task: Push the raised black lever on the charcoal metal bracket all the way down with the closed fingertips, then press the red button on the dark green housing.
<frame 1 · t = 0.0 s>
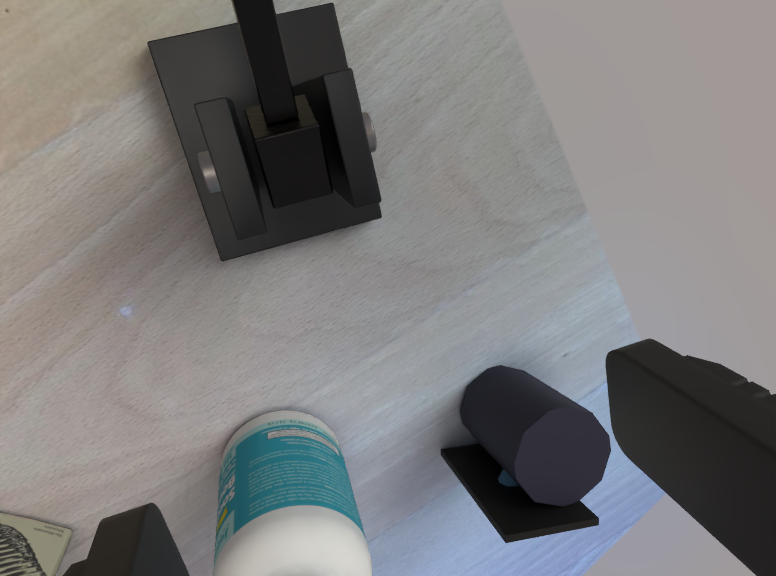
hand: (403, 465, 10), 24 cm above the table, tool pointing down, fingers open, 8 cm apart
speaker: (487, 401, 39), on the table
lever: (255, 13, 17), point 13 cm above the table, hinge at 25.0°
bracket: (273, 136, 30), on the table
box: (17, 543, 34), on the table
pill bottle: (281, 456, 36), on the table
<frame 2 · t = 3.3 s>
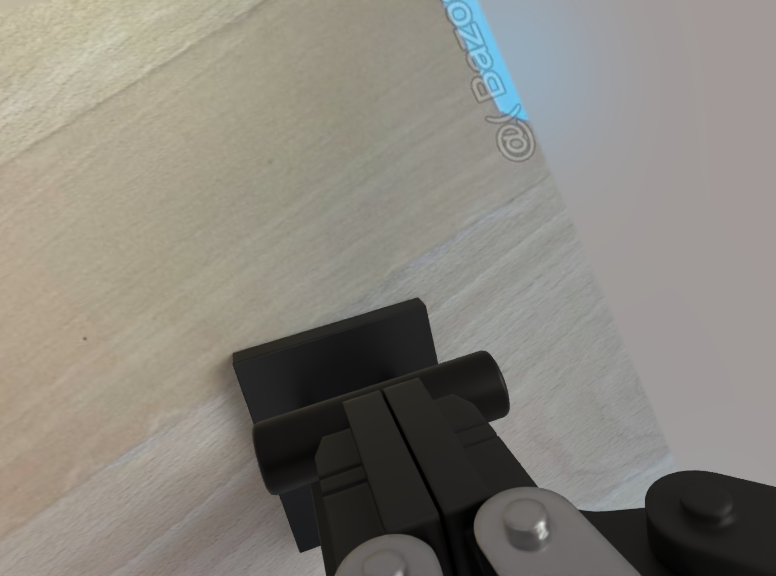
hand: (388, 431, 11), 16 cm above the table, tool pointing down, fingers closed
lever: (405, 534, 15), point 13 cm above the table, hinge at 22.6°, touching gripper
bracket: (355, 422, 28), on the table
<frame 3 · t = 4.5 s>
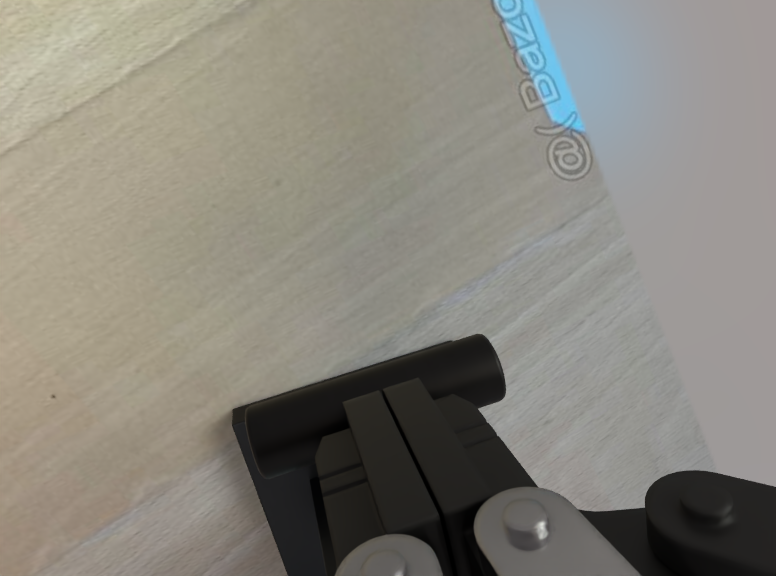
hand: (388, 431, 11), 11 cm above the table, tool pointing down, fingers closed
bracket: (376, 483, 24), on the table
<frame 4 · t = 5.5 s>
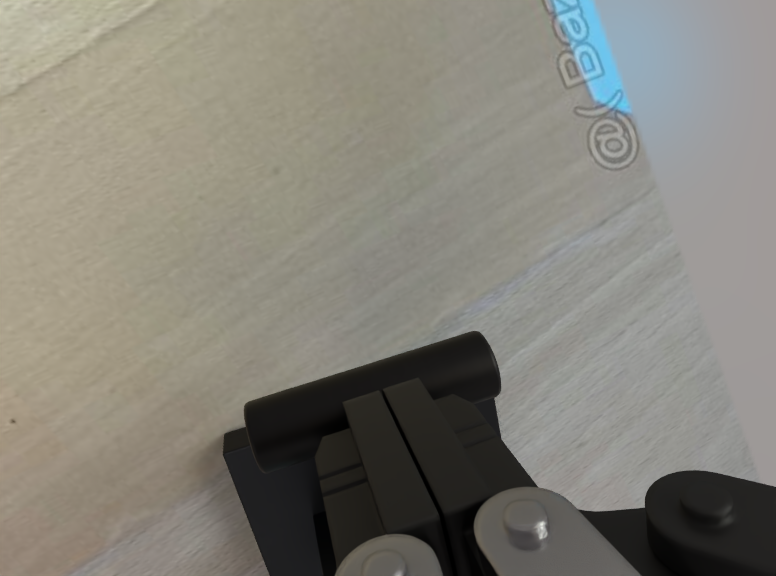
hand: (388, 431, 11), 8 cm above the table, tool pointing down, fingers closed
bracket: (388, 516, 21), on the table
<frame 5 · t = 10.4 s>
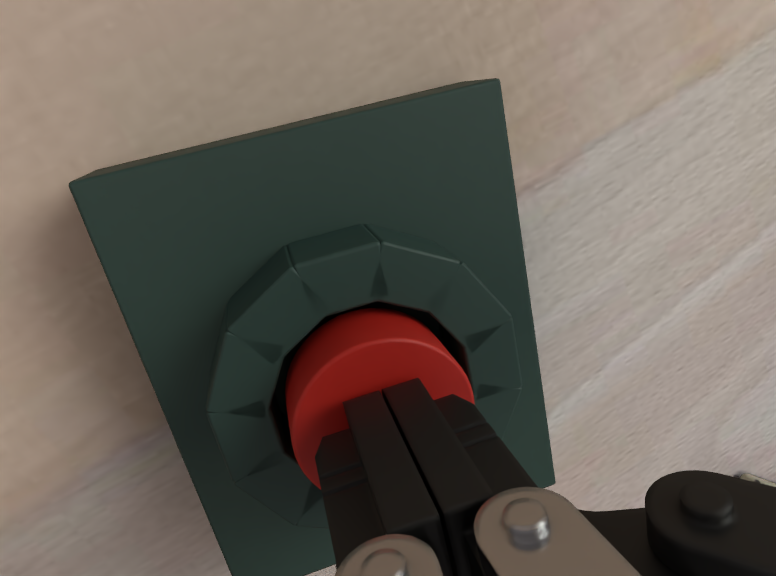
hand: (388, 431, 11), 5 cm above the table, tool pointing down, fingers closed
button box: (343, 328, 15), on the table
button: (377, 404, 12), point 4 cm above the table, slide at -0.2 cm, touching gripper
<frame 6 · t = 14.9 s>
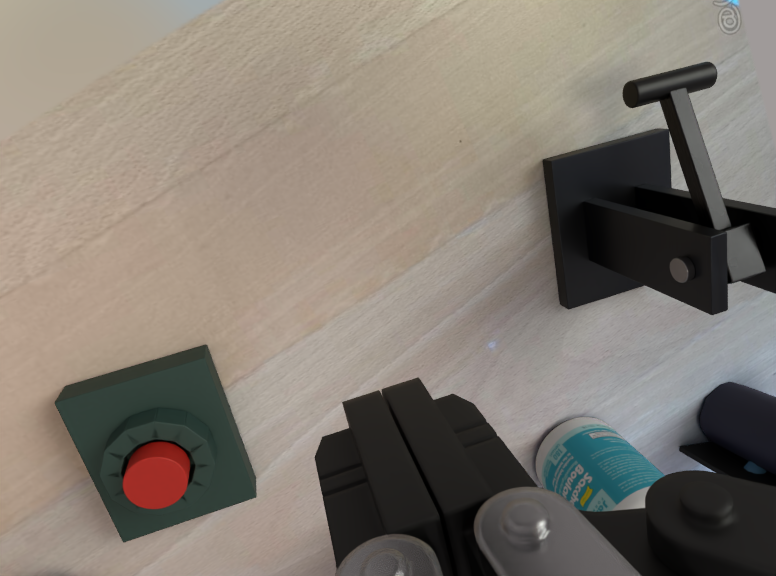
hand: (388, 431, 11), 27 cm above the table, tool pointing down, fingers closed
speaker: (715, 409, 50), on the table
lever: (699, 175, 32), point 9 cm above the table, hinge at -22.9°
bracket: (607, 219, 42), on the table
button box: (166, 435, 38), on the table
button: (157, 474, 34), point 4 cm above the table, slide at 0.1 cm
pill bottle: (570, 451, 48), on the table
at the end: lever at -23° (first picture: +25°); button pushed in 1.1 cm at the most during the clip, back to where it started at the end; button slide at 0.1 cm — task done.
